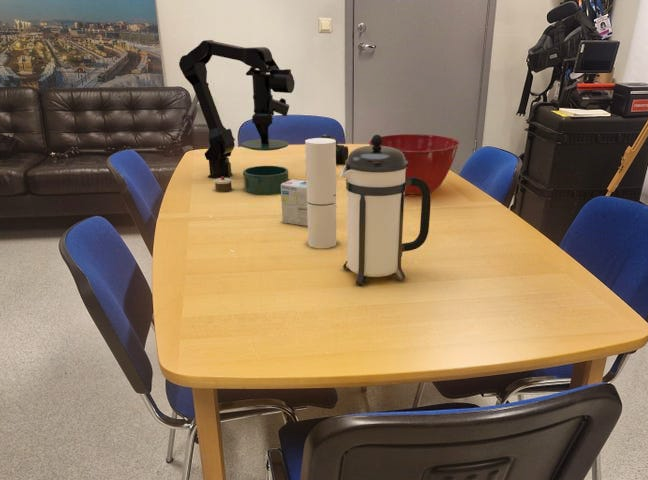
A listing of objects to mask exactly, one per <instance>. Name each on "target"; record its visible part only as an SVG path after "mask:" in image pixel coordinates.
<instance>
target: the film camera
mask: <svg viewBox="0 0 648 480" xmlns="http://www.w3.org/2000/svg"><path fill="white" fill-rule="evenodd" d="M320 138H329V139H334V140H336V165H339V164H341V165H342V164H343V165H345V161H346V160H347V159H348V156H349V154H350V152H349V147H348V146H347V145H346V146H345V145H344V144H338V140H337V138H336V137H335V136H334V135H329V134H322V135H321V137H320Z"/></svg>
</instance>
